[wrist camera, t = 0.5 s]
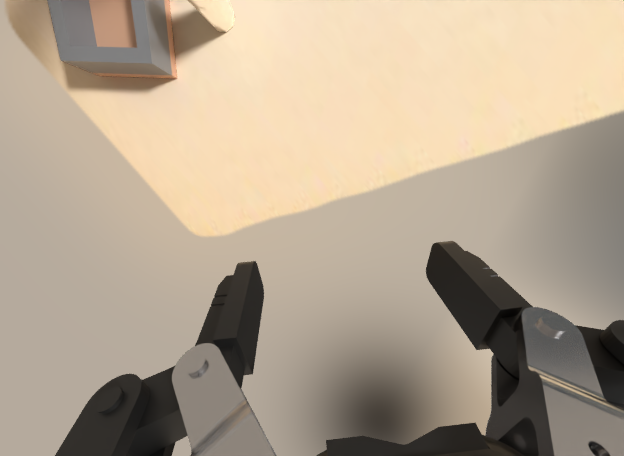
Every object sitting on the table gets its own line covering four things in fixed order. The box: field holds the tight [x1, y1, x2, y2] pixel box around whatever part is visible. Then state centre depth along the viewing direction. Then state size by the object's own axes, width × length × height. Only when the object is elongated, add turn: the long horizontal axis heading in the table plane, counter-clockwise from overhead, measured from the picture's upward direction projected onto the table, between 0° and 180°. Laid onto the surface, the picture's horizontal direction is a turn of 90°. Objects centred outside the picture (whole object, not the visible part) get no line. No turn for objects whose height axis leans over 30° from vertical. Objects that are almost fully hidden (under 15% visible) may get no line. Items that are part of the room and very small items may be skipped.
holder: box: [47, 0, 177, 78], centre depth 26 cm, size 11×11×4 cm
